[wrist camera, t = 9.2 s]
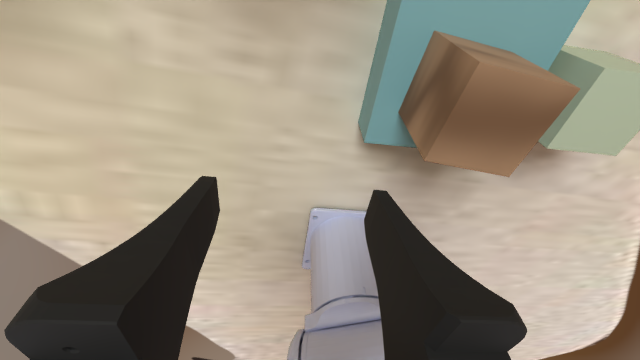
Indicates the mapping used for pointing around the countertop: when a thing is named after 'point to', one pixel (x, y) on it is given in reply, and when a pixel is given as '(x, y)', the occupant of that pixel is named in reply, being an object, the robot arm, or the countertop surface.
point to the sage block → (596, 102)
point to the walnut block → (480, 105)
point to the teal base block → (461, 21)
